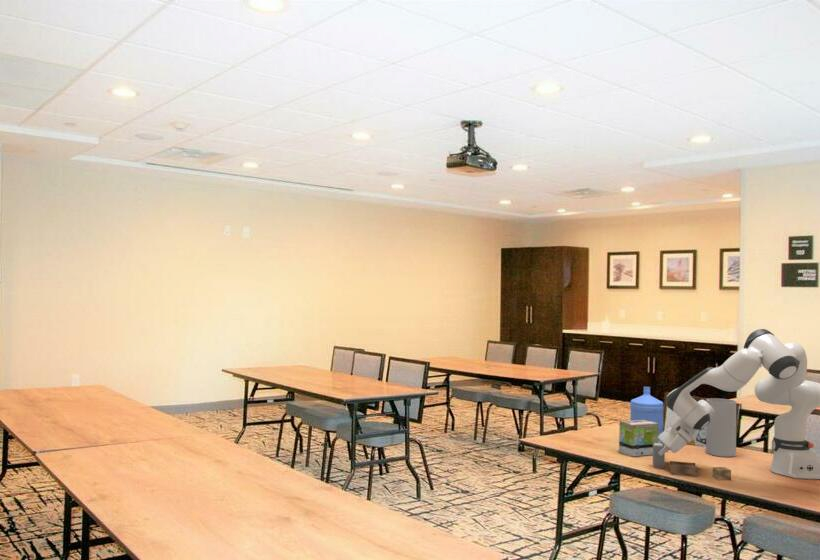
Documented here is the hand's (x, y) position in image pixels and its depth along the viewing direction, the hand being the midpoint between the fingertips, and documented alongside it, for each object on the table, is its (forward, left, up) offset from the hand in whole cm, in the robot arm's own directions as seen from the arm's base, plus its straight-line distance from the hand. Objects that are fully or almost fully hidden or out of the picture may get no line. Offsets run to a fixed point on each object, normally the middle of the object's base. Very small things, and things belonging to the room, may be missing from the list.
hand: (657, 452), depth 279 cm
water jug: (+1, -46, -6) cm, 47 cm away
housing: (-1, 0, -6) cm, 6 cm away
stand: (-10, +8, -6) cm, 14 cm away
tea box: (+6, -22, -6) cm, 24 cm away
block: (-24, +11, -6) cm, 27 cm away
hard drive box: (-23, -53, -6) cm, 58 cm away
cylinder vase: (-31, -34, -6) cm, 46 cm away
